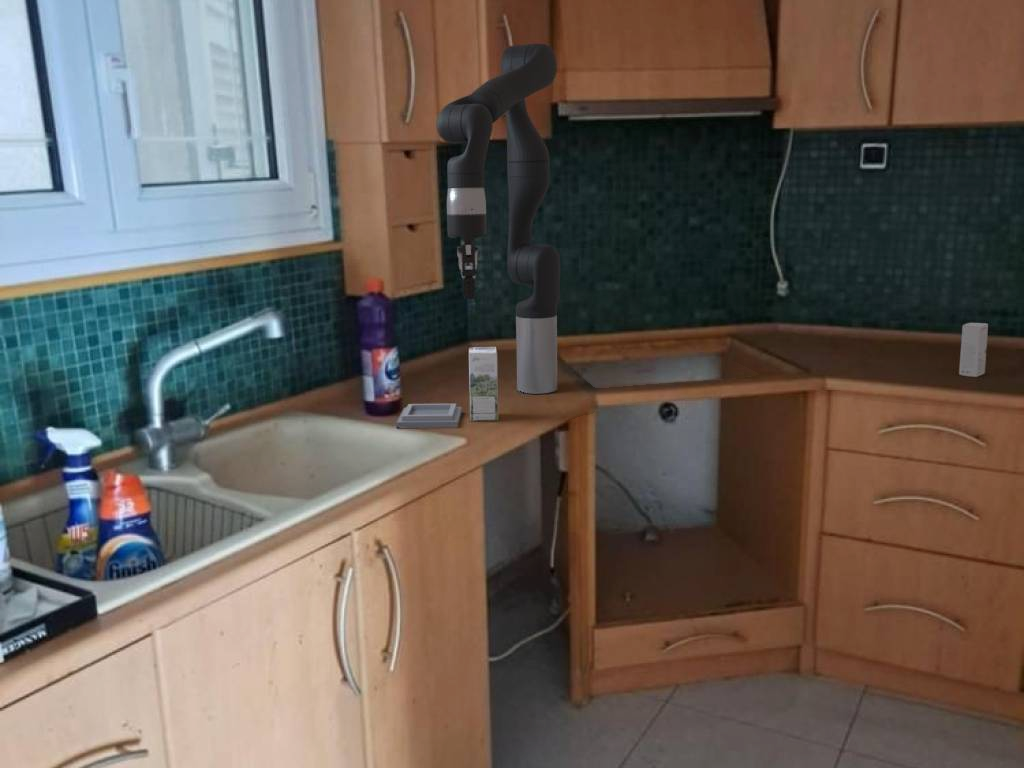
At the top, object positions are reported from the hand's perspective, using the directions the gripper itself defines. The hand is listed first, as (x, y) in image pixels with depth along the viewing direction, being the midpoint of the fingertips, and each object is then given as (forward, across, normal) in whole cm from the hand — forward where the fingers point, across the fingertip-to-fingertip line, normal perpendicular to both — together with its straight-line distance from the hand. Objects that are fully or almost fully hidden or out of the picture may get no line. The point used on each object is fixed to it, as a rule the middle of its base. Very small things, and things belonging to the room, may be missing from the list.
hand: (468, 296), depth 183 cm
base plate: (+25, +3, +8) cm, 27 cm away
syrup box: (+26, +3, -3) cm, 26 cm away
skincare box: (+24, +28, -121) cm, 126 cm away
